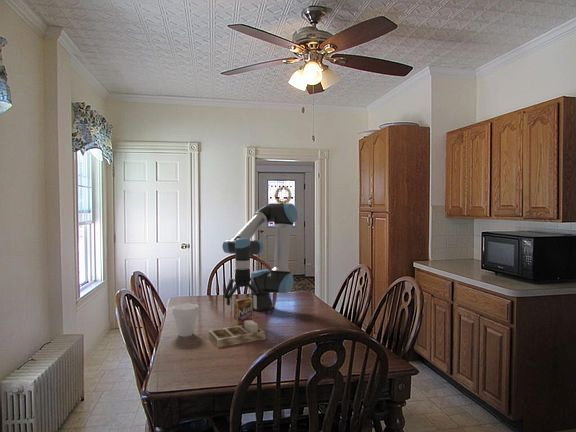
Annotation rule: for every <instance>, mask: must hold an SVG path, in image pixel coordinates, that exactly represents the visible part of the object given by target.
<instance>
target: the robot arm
mask: <svg viewBox="0 0 576 432" xmlns="http://www.w3.org/2000/svg"><path fill="white" fill-rule="evenodd" d="M297 220H298V211H297V207H296V206H295V204H293V203H289V202H285V203H284V202H281V203H280V202H278V203H277V202H275V203H268V204H266V205H264V206H262V207H260V208H259V209H257V210H256V211H255V212H254V213H253V215H252V217H251V219H250V220H248V222H247V223H246V224H245V225H244V226H243V227H242V228H241V229H240V230H239V231H238V232H236V234H235V235H234V236H233V237H232V238H231V239H225V240H224V241H223V243H222V246H221V247H222V251H223V252H224V253H226V254H231V255H232V254H233V255H234V254H235V256H234V257H235V261H234V262H235V263H234V264H235V265H234V268H235V270H234V272H235V273H234V274H235V276H234V277H235V278H229V279H228V284H227V285H226V288H225V290H224V293H223V295H222V298H224V299H226V305H227V306H228V310H227V311H228V312H229V313H231V312H232V311H233V310H232V309H233V306H232V304H233V301H232V296H233V295H234V294H235V292H236V291H237V290H238V289H239V287H240V288H246V287H248V289H249V290H250V298H252V311H254V312H255V311H257V312H258V311H260V312H261V311H268V310H269V311H270V310H271V309H273V308H274V307H273V305H274V304H273V303H274V302H273V300H272V298H271V295H270V294H271V293H278V294H288V293H290V292H291V289H293V285H294V283H295V282H294V275H293V274H292V273H291V270H290V268H289V261H290V260H289V256H290V241H291V229H292V228H293V226H294V223H297ZM268 223H273V225H274V227H275V244H274V245H275V246H274V258H273V259H274V261H273V262H274V263H273V267H272V268H271V271H270V269H259V270H254V271H252V272H251V269H250V268H251V256H255V255H256V256H257V255H260V254H261V253H263V251H264V244H263V242H262V241H260V240H259V239H258V240H257V239H256V240H255V239H254V240H251V239H252V237H254V235H256V233H257V232H258V231H259V230H260V229H261V228H262V227H263V226H265V225H267V224H268ZM234 283H235V284H234ZM232 286H233V287H232Z"/></svg>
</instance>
